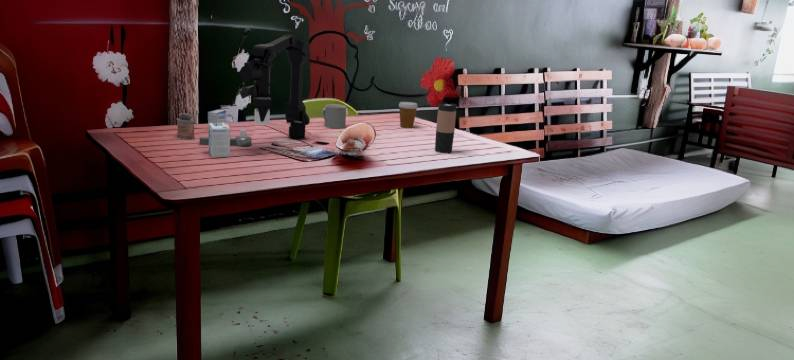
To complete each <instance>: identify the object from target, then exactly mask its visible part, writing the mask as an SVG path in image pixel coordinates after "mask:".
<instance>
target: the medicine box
mask: <svg viewBox="0 0 794 360" xmlns="http://www.w3.org/2000/svg"><path fill="white" fill-rule="evenodd" d="M207 121H208V122H207V124H208V130H207V131H209V123H227V110H224V109H215V110H211V111H207Z"/></svg>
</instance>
